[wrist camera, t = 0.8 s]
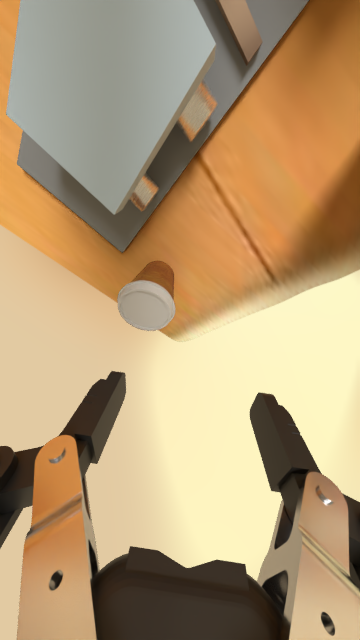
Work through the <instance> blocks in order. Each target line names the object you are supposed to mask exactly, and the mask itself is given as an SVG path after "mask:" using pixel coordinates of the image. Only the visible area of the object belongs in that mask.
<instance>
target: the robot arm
mask: <svg viewBox="0 0 360 640" xmlns="http://www.w3.org/2000/svg"><path fill="white" fill-rule="evenodd" d="M125 393H126V382H125V373H121V372H115V371H112V372H111V373H110V374H109V376H108V378H107V379H106V380H104V379H100V380H99V381H98V382H96V383H95V384H94V385H93V386H92V387H91V389H90V390H89V392H88V393H87V396H85V398H84V399H83V401H82V403H81V404H80V405H79V407H78V408H77V410H76V412H75V413H74V414H73V416H72V418H71V419H70V421H69V422H68V424H67V425H66V427H65V428H64V430H63V431H62V432H61V433H60V435H59V436H58V437H56V438H54V439H52V440H50V441H49V442H48V443H46V444H45V445H44V446H41V447H38V448H33V449H28V450H23V451H18V452H14V451H13V450H12V449H11V448H10V447H8V446H0V548H1V546H2V545H3V543H4V541H5V539H6V537H7V536H8V534H9V532H10V531H11V529H12V527H13V525H14V524H15V522H16V520H17V518H18V517H19V515H20V513H21V511H22V510H23V508H25V507H29V506H32V505H33V507H32V523H31V528H30V531H29V532H28V533H27V536H26V539H25V544H24V552H23V564H22V577H21V591H20V603H19V616H18V630H17V640H360V502H358V501H356V500H354V499H352V498H350V497H348V496H346V495H344V494H342V493H341V491H340V490H339V489H338V487H337V486H336V485H335V484H334V483H333V482H332V481H331V480H330V479H328V478H327V477H326V476H324V475H322V473H321V472H320V470H319V469H318V467H317V465H316V463H315V461H314V459H313V457H312V455H311V453H310V451H309V450H308V448H307V446H306V444H305V442H304V440H303V438H302V436H301V435H300V432H299V430H298V428H297V427H296V425H295V423H294V421H293V419H292V417H291V415H290V414H289V413H288V411H287V410H286V409H285V408H284V407H283V406H280V405H278V403H277V400H276V399H275V397H274V395H272V394H265V393H258V394H257V396H256V398H255V400H254V402H253V404H252V406H251V409H250V420H251V424H252V427H253V430H254V434H255V437H256V440H257V444H258V447H259V450H260V454H261V457H262V461H263V464H264V468H265V471H266V474H267V478H268V481H269V484H270V488H271V491H275V492H280V493H281V496H282V499H283V500H282V501H281V504H280V509H279V513H278V517H277V521H276V525H275V529H274V533H273V537H272V541H271V545H270V548H269V551H268V553H267V555H266V557H265V559H264V561H263V564H262V567H261V569H260V573H259V577H258V580H257V581H255V580H254V579H253V578H252V577H251V576H249V575H248V574H247V573H246V566H245V564H241V563H234V562H228V561H221V560H214V561H211V562H208V563H205V564H201V565H198V566H195V567H192V568H185V567H183V566H182V565H180V564H178V563H177V562H175V561H174V560H172V559H171V558H169V557H167V556H166V555H164V554H163V553H161V552H160V551H157V550H151V549H144V548H138V547H130V549H129V553H128V554H125V555H122V556H120V557H118V558H116V559H114V560H113V561H111V562H110V563H108V564H107V565H106V566H105V567H104V568H102V569H101V570H99V562H98V556H97V549H96V541H95V536H94V531H93V526H92V519H91V513H90V505H89V498H88V490H87V483H86V476H85V474H86V472H87V469H88V467H89V465H90V463H95V464H97V463H98V461H99V458H100V456H101V453H102V451H103V449H104V446H105V444H106V442H107V439H108V437H109V434H110V432H111V430H112V427H113V425H114V422H115V420H116V418H117V415H118V413H119V411H120V408H121V406H122V403H123V401H124V397H125Z"/></svg>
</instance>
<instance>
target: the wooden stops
mask: <svg viewBox="0 0 360 640" xmlns="http://www.w3.org/2000/svg"><path fill="white" fill-rule="evenodd" d="M215 1H216V3H217V5H218V8H219V10H220V12H221V14H222V16H223V18H224V20H225V22H226V24H227V26H228V29H229V31H230V33H231V35H232V37H233V39H234V41H235V43H236V45H237V47H238V50H239V52H240V54H241V56H242V58H243V60H244V62H245V64H246V66H247V65H248V63H249V62H250V61H251V59H252V58H253V56H254V55H255V54H256V52H257V51H258V49H259V48H260V46H261V44H262V42H263V41H262V39H261V36H260V34H259V32H258V29H257V27H256V25H255V22H254V20H253V17H252V15H251V13H250V10H249V8H248V6H247V3H246V1H245V0H215Z"/></svg>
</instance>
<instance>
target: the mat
mask: <svg viewBox="0 0 360 640" xmlns="http://www.w3.org/2000/svg"><path fill="white" fill-rule="evenodd" d="M245 1H246V3H247V6H248V8H249V10H250V13H251V15H252V17H253V20H254V22H255V25H256V27H257V29H258V32H259V34H260V36H261V39H262V41H263V42H262V44H261V46H260V48H259V49H258V51H257V52H256V54H255V55H254V56H253V58H252V59H251V61H250V62H249V63H248V65H247V66H246V64H245V62H244V60H243V58H242V56H241V54H240V52H239V50H238V47H237V45H236V43H235V41H234V39H233V37H232V35H231V33H230V31H229V29H228V26H227V24H226V22H225V20H224V18H223V16H222V14H221V12H220V10H219V8H218V5H217V3H216V1H215V0H194V2H195V4H196V6H197V8H198V10H199V12H200V14H201V16H202V18H203V20H204V21H205V23H206V25H207V27H208V29H209V31H210V33H211V35H212V37H213V39H214V41H215V43H216V49H215V60H214V62H213V64H212V65H211V67H210V68H209V70H208V72H207V73H206V75H205V77H204V78H203V79H204V80H205V82H206V84H207V85H208V87H209V89H210V91H211V92H212V94H213V96H214V98H215V99H216V101H217V103H218V105H217V107H216V109H215V111H214V112H213V114H212V116H211V117H210V119H209V120H208V122H207V123H206V125H205V126H204V127H203V129H202V130H201V132H200V133H199V134H198V136H197V137H196V138H195V139H194V141H193V142H192V143H190V141H189V140H188V138H187V137H186V136H185V134H184V133H183V131H182V130H181V128H180V127H179V126H178V124H177V123H176V124H175V125H174V127H173V128H172V130H171V132H170V133H169V135H168V137H167V138H166V140H165V141H164V143H163V145H162V146H161V148H160V150H159V151H158V153H157V154H156V156H155V158H154V159H153V161H152V163H151V164H150V166H149V167H148V169H147V171H146V173H147V174H148V176H149V177H150V178H151V179H152V180H153V181H154V182H155V184H156V185H157V186H158V187H159V188H160V189H159V191H158V192H157V194H156V195H155V197H154V198H153V200H152V201H151V202H150V204H149V205H148V206H147V208H146V209H145V210H144V211H143V212H141V211H140V210H139V209H138V208H137V207H136V206H135V205H134V204H133V203H132V202H131V201H130V200H128V201H127V203H126V205H125V206H124V208H123V210H121V211H120V212H118V213H116V214H115V215H114V214H113V213H112V212H111V211H109V210H108V209H107V208H106V207H105V206H104V205H103V204H102V203H101V202H100V201H99V200H98V199H97V198H95V197H94V196H93V195H92V194H91V193H90V192H89V191H88V190H87V189H86V188H85V187H84V186H83V185H81V184H80V183H79V182H78V181H77V180H76V179H75V178H74V177H73V176H72V175H71V174H70V173H69V172H68V171H66V170H65V169H64V168H63V167H62V166H61V165H60V164H59V163H58V162H57V161H56V160H55V159H54V158H52V157H51V156H50V155H49V154H48V153H47V152H46V151H45V150H44V149H43V148H42V147H41V146H40V145H38V144H37V143H36V142H35V141H34V140H33V139H32V138H31V137H30V136H29V135H28V134H27V133H26V132H24V131H23V133H22V139H21V144H20V149H19V155H18V160H17V164H18V165H19V166H20V167H21V168H22V169H23V170H25V171H26V172H27V173H28V174H29V175H31V176H32V177H33V178H34V179H35V180H36V181H38V182H39V183H40V184H41V185H42V186H44V187H45V188H46V189H47V190H48V191H50V192H51V193H52V194H53V195H54V196H55V197H57V198H58V199H59V200H60V201H61V202H63V203H64V204H65V205H66V206H67V207H68V208H70V209H71V210H72V211H73V212H74V213H76V214H77V215H78V216H79V217H80V218H82V219H83V220H84V221H85V222H86V223H87V224H89V225H90V226H91V227H92V228H93V229H95V230H96V231H97V232H98V233H99V234H100V235H102V236H103V237H104V238H105V239H106V240H108V241H109V242H110V243H111V244H112V245H114V246H115V247H116V248H117V249H118V250H119V251H121V252H122V253H123V252H124V250H125V249H126V248H127V246H128V245H129V244H130V242H131V241H132V240H133V238H134V237H135V236H136V234H137V233H138V231H139V230H140V229H141V227H142V226H143V225H144V223H145V222H146V221H147V219H148V218H149V217H150V215H151V214H152V213H153V211H154V210H155V208H156V207H157V206H158V204H159V203H160V202H161V200H162V199H163V198H164V196H165V195H166V194H167V192H168V191H169V190H170V188H171V187H172V185H173V184H174V183H175V181H176V180H177V179H178V177H179V176H180V175H181V173H182V172H183V171H184V169H185V168H186V167H187V165H188V164H189V162H190V161H191V160H192V158H193V157H194V156H195V154H196V153H197V152H198V150H199V149H200V148H201V146H202V145H203V144H204V142H205V141H206V139H207V138H208V137H209V135H210V134H211V133H212V131H213V130H214V129H215V127H216V126H217V125H218V123H219V122H220V121H221V119H222V118H223V116H224V115H225V114H226V112H227V111H228V110H229V108H230V107H231V106H232V104H233V103H234V102H235V100H236V99H237V98H238V96H239V95H240V93H241V92H242V91H243V89H244V88H245V87H246V85H247V84H248V83H249V81H250V80H251V79H252V77H253V76H254V75H255V73H256V72H257V70H258V69H259V68H260V66H261V65H262V64H263V62H264V61H265V60H266V58H267V57H268V56H269V54H270V53H271V52H272V50H273V49H274V47H275V46H276V45H277V43H278V42H279V41H280V39H281V38H282V37H283V35H284V34H285V33H286V31H287V30H288V29H289V27H290V26H291V24H292V23H293V22H294V20H295V19H296V18H297V16H298V15H299V14H300V12H301V11H302V10H303V8H304V7H305V6H306V4H307V3H308V1H309V0H245Z"/></svg>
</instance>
